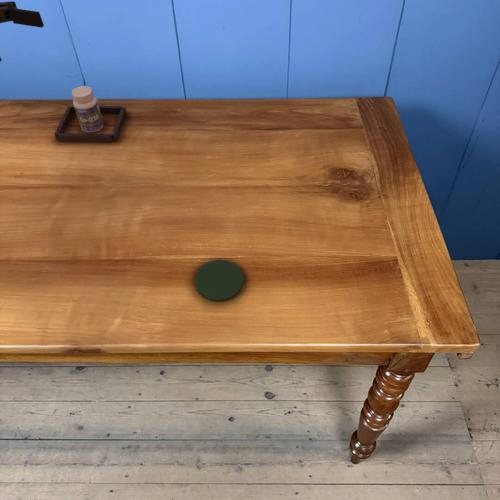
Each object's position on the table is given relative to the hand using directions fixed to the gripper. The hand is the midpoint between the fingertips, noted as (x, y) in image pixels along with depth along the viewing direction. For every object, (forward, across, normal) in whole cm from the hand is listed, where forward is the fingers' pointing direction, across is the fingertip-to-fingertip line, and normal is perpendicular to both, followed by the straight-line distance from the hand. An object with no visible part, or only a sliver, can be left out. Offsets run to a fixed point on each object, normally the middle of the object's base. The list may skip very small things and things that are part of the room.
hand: (20, 36), depth 85 cm
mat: (+49, +30, -18) cm, 60 cm away
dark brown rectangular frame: (+10, 0, -18) cm, 20 cm away
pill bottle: (+10, 0, -18) cm, 21 cm away
